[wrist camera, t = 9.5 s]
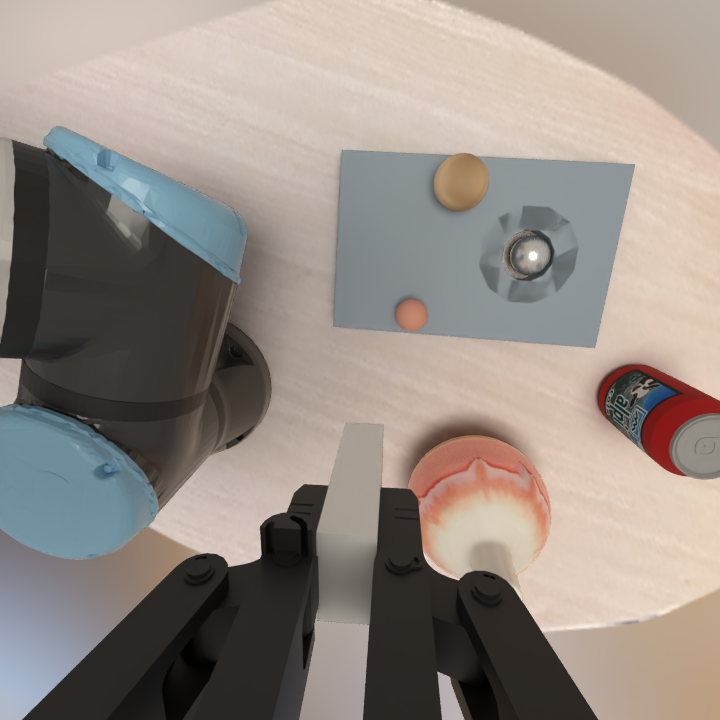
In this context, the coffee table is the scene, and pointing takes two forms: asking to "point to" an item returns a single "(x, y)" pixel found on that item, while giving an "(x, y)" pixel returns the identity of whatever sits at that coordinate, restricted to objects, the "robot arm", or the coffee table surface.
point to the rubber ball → (411, 315)
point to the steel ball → (530, 255)
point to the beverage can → (665, 419)
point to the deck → (477, 247)
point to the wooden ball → (461, 182)
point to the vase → (481, 507)
